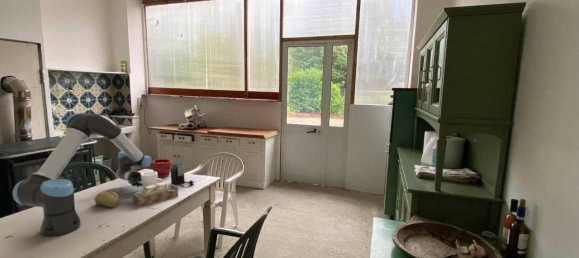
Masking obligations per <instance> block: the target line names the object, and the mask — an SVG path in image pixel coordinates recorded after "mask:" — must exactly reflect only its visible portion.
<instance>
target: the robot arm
mask: <svg viewBox="0 0 579 258" xmlns="http://www.w3.org/2000/svg"><path fill="white" fill-rule="evenodd" d="M64 132H65V133H66V134H65V135H64V136H63V138H62V139H61V140H60V141H59V143H58V144H57V145H56V147H55V148H54V149H53V151H52V152H51V153H50V154H49V156H48V157H47V159H46V160H45V161H44V163H43V164H42V165H41V167H40V168H39V169H38V171H36V172H32V173H31V174H30V175H29V176H28V178H27V179H23V180H21V181H19V182H17V183H16V184H15V186H14V188H13V189H12V196H13V200H14V201H15V202H16V203H17V204H19V205H21V206H27V207H29V206H30V207H35V208H36V207H37V208H42V211H43V218H42V222H41V225H40V229H39V231H40V232H39V233H40V235H41V236H43V237H57V236H62V235H65V234H69V233H71V232H74V231H76V230H77V229H79V228H80V227H81V226H82V225H81V224H82V221H81V219H80V217H79V215H78V213H77V211H76V207H75V206H76V205H75V188H74V185H73V182H72V181H71V180H69V179H67V178H59V177H60V175H61V174H62V172H63V171H64V169H65V168H66V166H68V163H69V162H70V161H71V159H72V158H73V157H74V155H75V154H76V153H77V151H78V149H79V148H80V147H81V145H82V143H83V142H85V141H88V140H89V139H90V137H91V136H92V135H94V136H95V135H98V136H101V137H102V138H104V139H106V140H108V141H110V142H112V143H113V144H114V145H115V146H116V147H117V148H118V149H119V150H120V151H119V152H118V154H117V155H118V156H117V157H118V169H117V170H116V172H115V174H116V175H115V176H116V177H118V179H121V180H124V181H127V182H128V184H130V185H132V186H135V185H137V187H139V186H141V187H145V186H147V184H146V183H144V182H142V179H141V174H142V173H141V172H139V171H136V170H133V169H132V168H133V167H141V168H149V167H150V166H151V164H152V163H153V159H152V157H151V156H149V155H145V154H144V153H143V152H142V151H141V150H140V149H139V148H138V147H137V146H136V145H135V144H134V143H133V141H132V140H130V139H129V137H127V135H125V134H124V133H123V131H122V127H120V126H119V125H118V123H116V122H115V121H114V120H112V119H111V118H109V117H108V116H107V115H104V114H99V113H85V112H78V113H73V114H71V115H69V116H68V117H67V119H66V121H65V131H64ZM162 182H163V180H162V178H161V177H159V176H157V184H158V183H162Z"/></svg>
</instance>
